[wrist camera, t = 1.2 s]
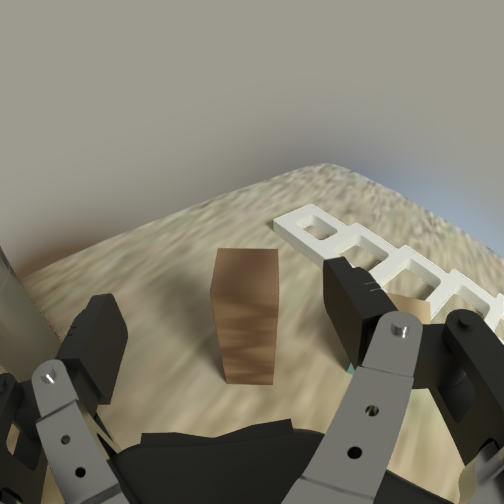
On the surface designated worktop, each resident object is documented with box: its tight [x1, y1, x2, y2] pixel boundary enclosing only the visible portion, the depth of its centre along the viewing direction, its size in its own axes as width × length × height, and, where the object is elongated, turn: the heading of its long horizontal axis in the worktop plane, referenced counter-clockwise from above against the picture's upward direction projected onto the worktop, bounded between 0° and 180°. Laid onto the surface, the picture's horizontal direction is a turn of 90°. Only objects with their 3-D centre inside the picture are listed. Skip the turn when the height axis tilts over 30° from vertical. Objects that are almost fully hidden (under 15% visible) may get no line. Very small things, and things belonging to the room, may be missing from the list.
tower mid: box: [385, 292, 431, 324], centre depth 30 cm, size 6×6×4 cm
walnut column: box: [210, 248, 279, 385], centre depth 29 cm, size 5×5×15 cm
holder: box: [273, 204, 504, 345], centre depth 43 cm, size 45×18×3 cm, turn 35°
